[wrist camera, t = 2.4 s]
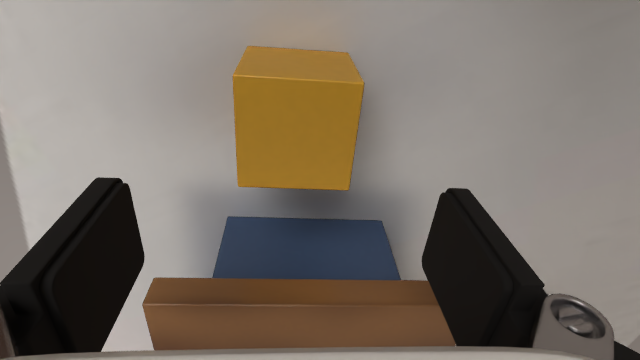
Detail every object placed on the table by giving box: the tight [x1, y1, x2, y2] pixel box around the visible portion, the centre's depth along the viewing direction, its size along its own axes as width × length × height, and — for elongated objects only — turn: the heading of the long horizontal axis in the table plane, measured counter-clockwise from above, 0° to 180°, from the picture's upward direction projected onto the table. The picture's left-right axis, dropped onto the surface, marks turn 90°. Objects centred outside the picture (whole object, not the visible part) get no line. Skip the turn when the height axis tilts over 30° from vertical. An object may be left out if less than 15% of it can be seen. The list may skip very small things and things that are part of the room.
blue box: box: [212, 217, 401, 280], centre depth 25 cm, size 16×10×7 cm, turn 176°
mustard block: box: [233, 46, 364, 190], centre depth 17 cm, size 5×5×5 cm
